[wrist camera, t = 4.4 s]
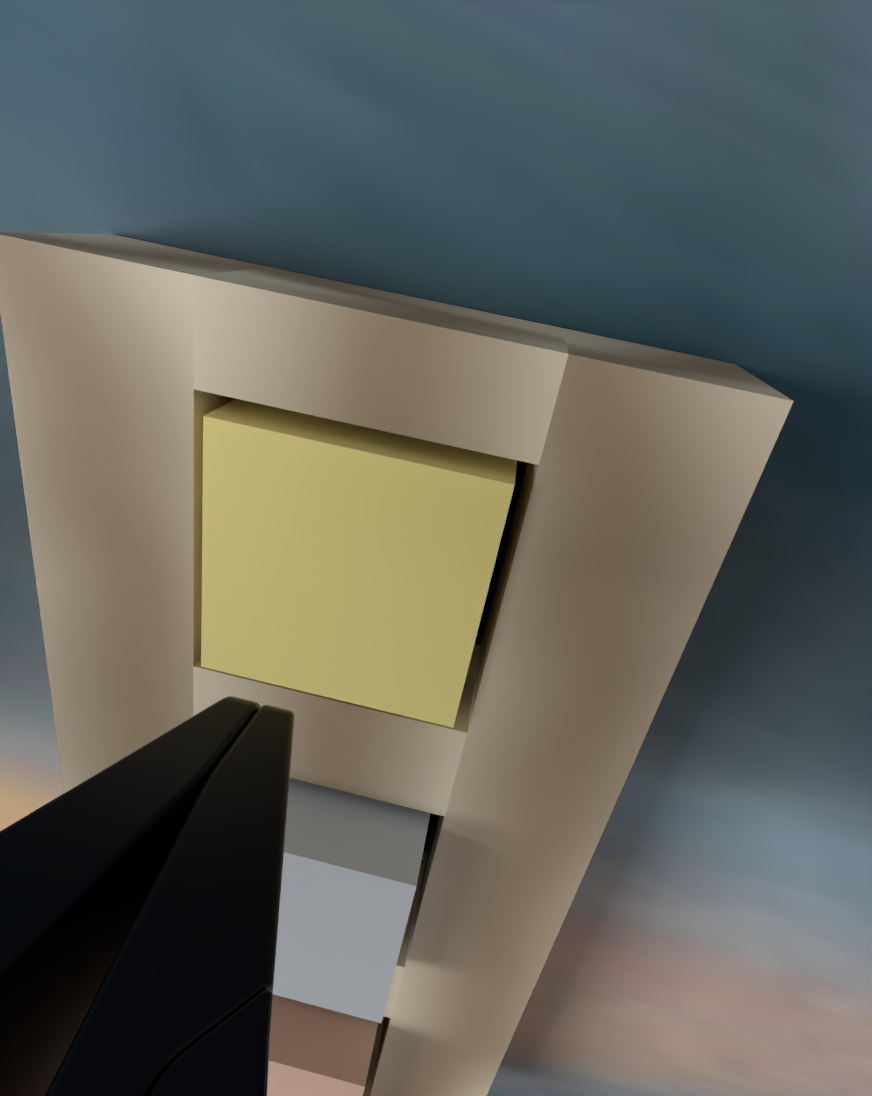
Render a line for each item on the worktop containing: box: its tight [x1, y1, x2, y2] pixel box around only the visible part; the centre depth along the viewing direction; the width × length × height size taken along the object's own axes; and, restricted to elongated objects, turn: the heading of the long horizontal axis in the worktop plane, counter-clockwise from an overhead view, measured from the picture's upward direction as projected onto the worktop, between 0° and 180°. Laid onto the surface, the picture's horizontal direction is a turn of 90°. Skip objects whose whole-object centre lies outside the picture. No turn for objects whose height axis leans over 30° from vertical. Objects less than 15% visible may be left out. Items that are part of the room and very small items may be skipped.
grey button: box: [273, 778, 430, 1023], centre depth 15 cm, size 5×5×3 cm
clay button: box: [267, 994, 378, 1096], centre depth 18 cm, size 5×5×3 cm
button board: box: [0, 232, 794, 1096], centre depth 16 cm, size 12×25×3 cm, turn 170°
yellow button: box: [201, 399, 517, 728], centre depth 12 cm, size 5×5×3 cm
